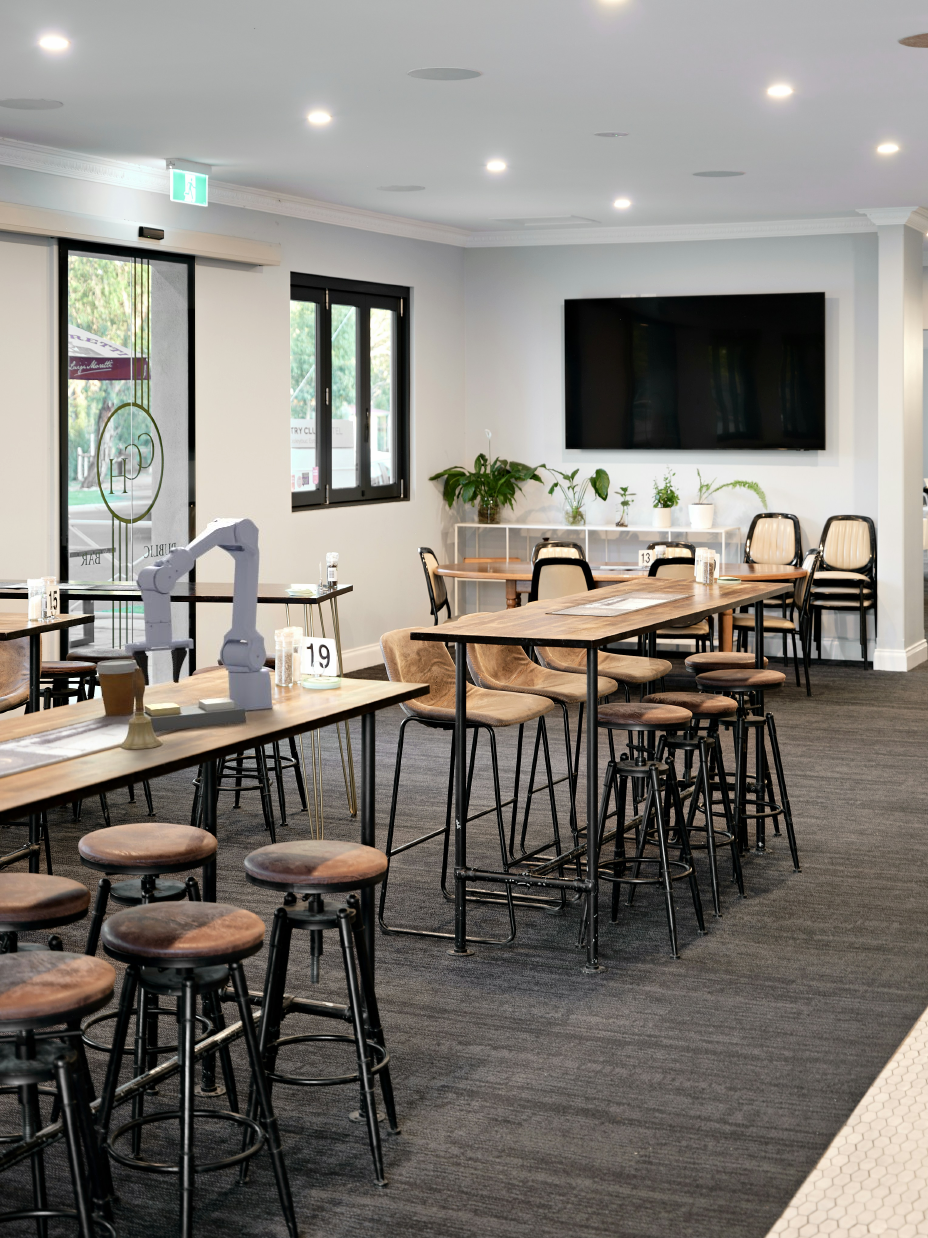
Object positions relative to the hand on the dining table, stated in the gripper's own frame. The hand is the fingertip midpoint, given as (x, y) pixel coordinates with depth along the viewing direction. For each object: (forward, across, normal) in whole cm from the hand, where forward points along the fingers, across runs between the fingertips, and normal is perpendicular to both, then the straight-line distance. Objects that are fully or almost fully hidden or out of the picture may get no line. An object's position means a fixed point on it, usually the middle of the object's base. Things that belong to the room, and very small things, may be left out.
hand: (161, 683), depth 320 cm
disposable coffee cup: (+10, -5, +22) cm, 25 cm away
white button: (+8, +12, 0) cm, 14 cm away
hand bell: (+10, -9, -19) cm, 23 cm away
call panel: (+9, +6, 0) cm, 11 cm away
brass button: (+8, 0, 0) cm, 8 cm away
